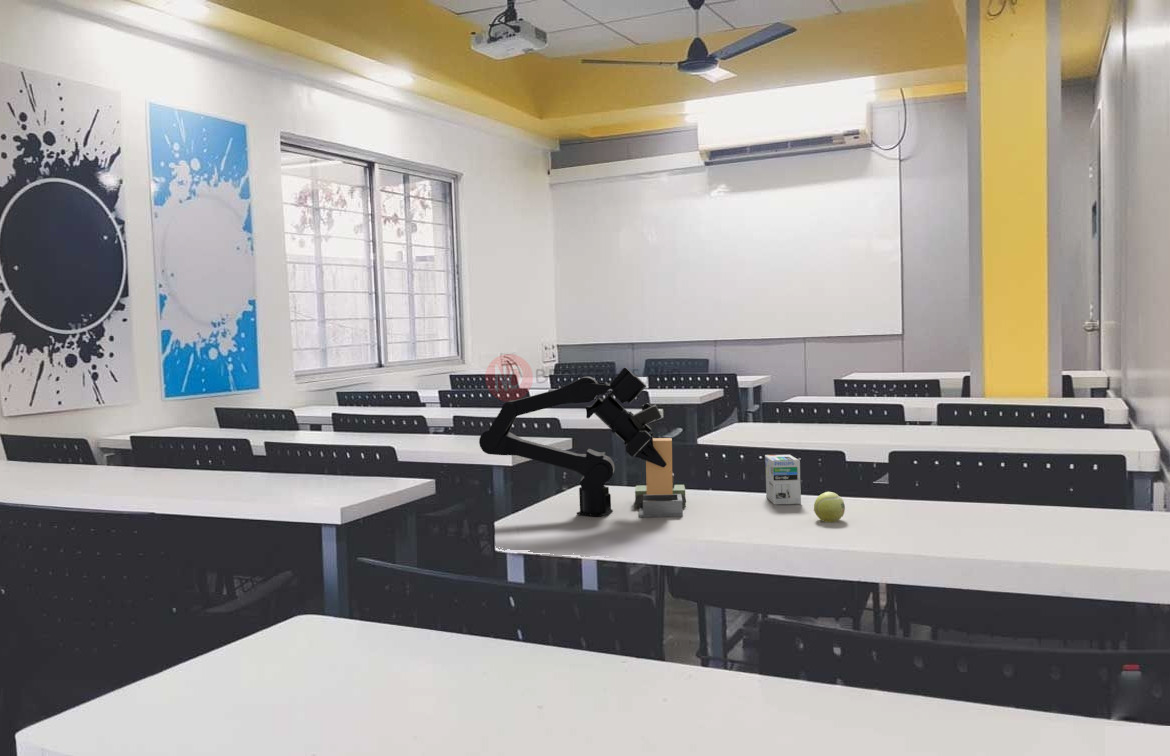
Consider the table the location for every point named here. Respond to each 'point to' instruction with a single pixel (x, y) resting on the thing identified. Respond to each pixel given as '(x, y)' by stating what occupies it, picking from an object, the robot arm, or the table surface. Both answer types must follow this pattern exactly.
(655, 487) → the tan rectangular block
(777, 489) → the light bulb box
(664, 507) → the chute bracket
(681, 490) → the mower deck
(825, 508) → the tennis ball
